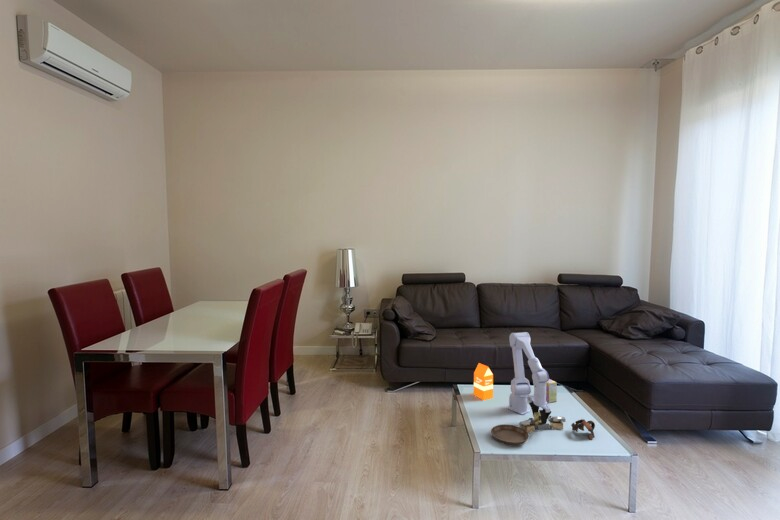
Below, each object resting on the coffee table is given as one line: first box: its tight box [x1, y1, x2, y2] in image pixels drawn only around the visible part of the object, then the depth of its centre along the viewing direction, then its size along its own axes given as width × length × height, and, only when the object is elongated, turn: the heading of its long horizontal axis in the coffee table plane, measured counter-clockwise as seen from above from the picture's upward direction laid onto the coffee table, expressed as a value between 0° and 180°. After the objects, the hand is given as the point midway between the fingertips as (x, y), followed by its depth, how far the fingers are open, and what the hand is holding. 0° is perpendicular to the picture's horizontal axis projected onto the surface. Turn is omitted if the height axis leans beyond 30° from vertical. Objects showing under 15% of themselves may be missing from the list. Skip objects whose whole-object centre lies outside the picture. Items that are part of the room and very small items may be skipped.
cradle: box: [533, 422, 550, 431], centre depth 198 cm, size 6×7×3 cm
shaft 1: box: [519, 417, 535, 434], centre depth 194 cm, size 8×4×6 cm, turn 116°
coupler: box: [533, 411, 542, 426], centre depth 197 cm, size 6×4×6 cm
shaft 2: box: [547, 415, 566, 430], centre depth 197 cm, size 8×4×6 cm, turn 86°
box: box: [546, 378, 558, 404], centre depth 231 cm, size 10×6×12 cm, turn 17°
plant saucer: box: [490, 424, 530, 447], centre depth 186 cm, size 18×18×3 cm
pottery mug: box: [570, 418, 596, 441], centre depth 190 cm, size 12×10×8 cm
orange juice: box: [473, 362, 494, 401], centre depth 235 cm, size 8×9×20 cm
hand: (539, 420), depth 197 cm, fingers open, 7 cm apart
